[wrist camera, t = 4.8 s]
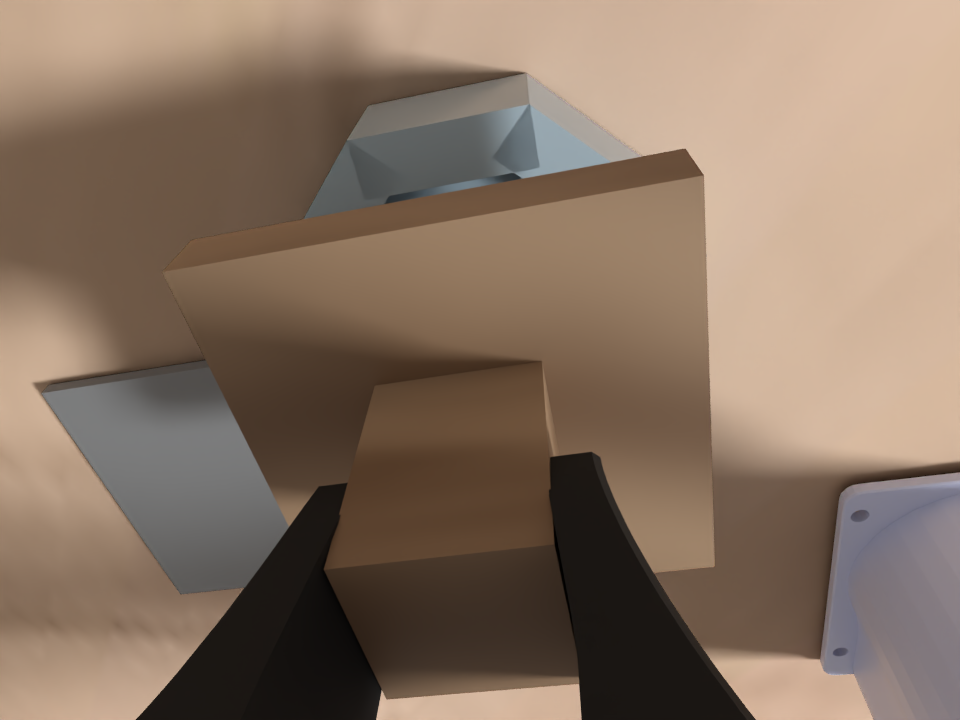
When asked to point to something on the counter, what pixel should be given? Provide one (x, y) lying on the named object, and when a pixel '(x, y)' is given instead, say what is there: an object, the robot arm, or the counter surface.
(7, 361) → the counter surface
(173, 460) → the mat
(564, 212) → the lid
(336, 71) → the counter surface
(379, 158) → the bowl
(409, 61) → the counter surface
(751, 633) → the counter surface
